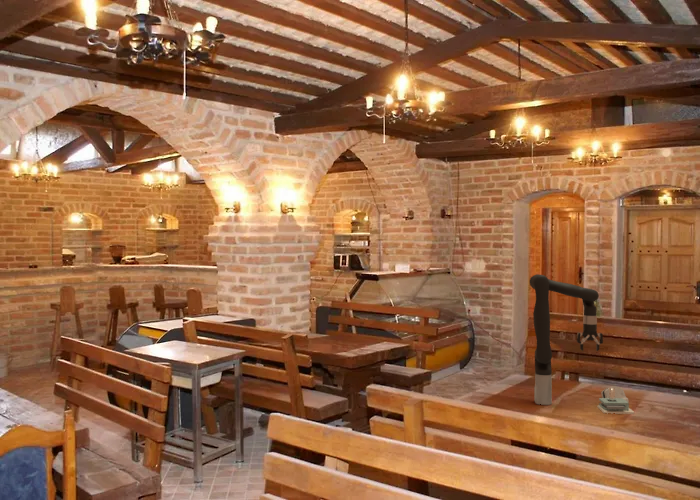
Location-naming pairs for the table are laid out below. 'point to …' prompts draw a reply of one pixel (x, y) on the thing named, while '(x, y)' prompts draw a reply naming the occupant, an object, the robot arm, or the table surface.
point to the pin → (612, 394)
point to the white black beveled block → (618, 392)
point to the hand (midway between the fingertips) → (589, 350)
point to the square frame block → (614, 406)
